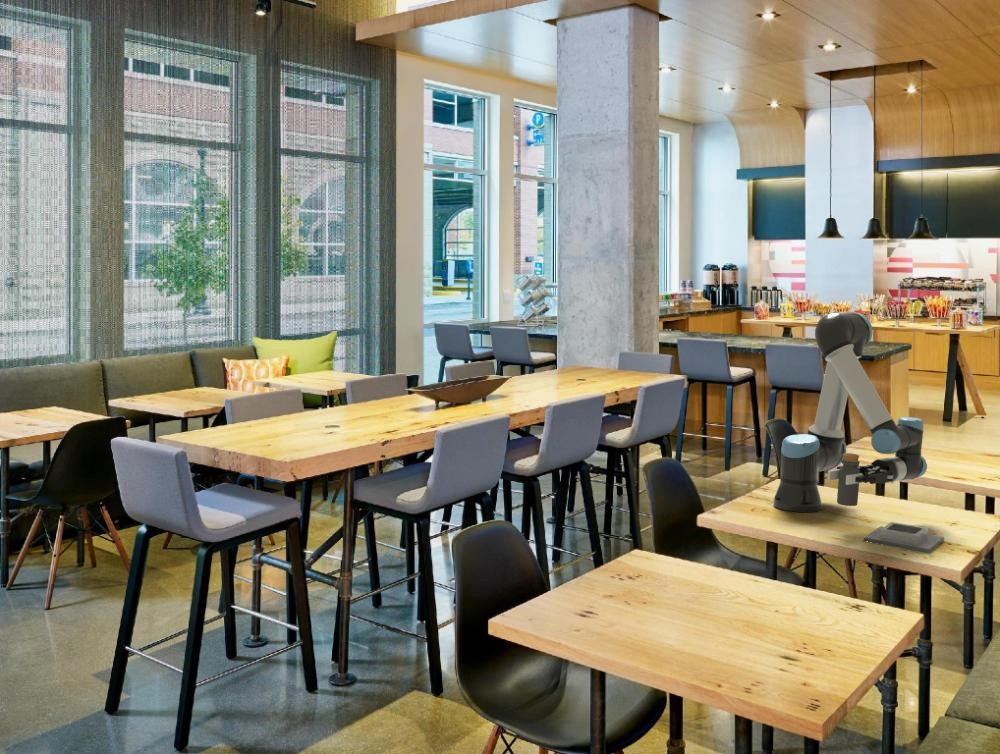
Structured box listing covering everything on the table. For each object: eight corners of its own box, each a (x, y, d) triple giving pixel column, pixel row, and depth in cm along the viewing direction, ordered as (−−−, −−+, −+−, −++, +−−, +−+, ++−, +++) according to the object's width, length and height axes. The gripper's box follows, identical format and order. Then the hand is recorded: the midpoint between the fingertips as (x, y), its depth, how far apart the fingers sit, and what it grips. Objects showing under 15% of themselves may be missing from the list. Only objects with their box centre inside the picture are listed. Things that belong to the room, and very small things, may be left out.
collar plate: (863, 541, 284) (864, 528, 283) (880, 530, 296) (881, 518, 296) (928, 553, 273) (929, 540, 272) (943, 540, 285) (944, 528, 285)
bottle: (834, 503, 294) (837, 454, 292) (840, 500, 299) (844, 451, 297) (853, 507, 291) (857, 457, 289) (860, 503, 295) (864, 454, 293)
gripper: (913, 488, 296) (863, 497, 283) (860, 475, 311) (811, 483, 299) (915, 464, 295) (865, 472, 282) (862, 452, 310) (813, 459, 298)
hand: (837, 477), depth 291 cm, fingers closed on bottle, 6 cm apart
